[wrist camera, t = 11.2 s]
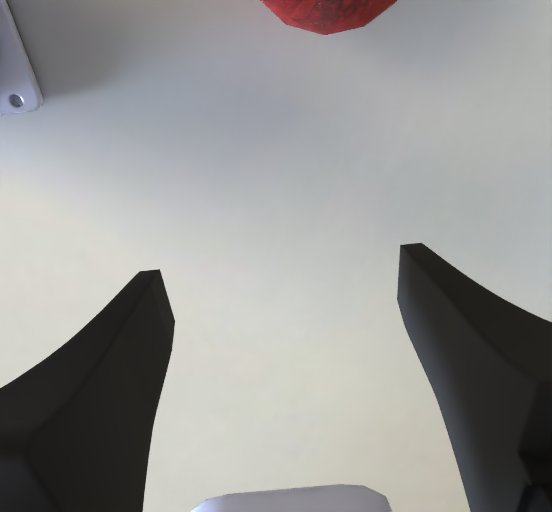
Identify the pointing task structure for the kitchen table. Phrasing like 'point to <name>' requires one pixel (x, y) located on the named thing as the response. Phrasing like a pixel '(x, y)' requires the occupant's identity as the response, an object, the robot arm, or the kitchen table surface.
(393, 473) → the kitchen table surface
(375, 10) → the onion
